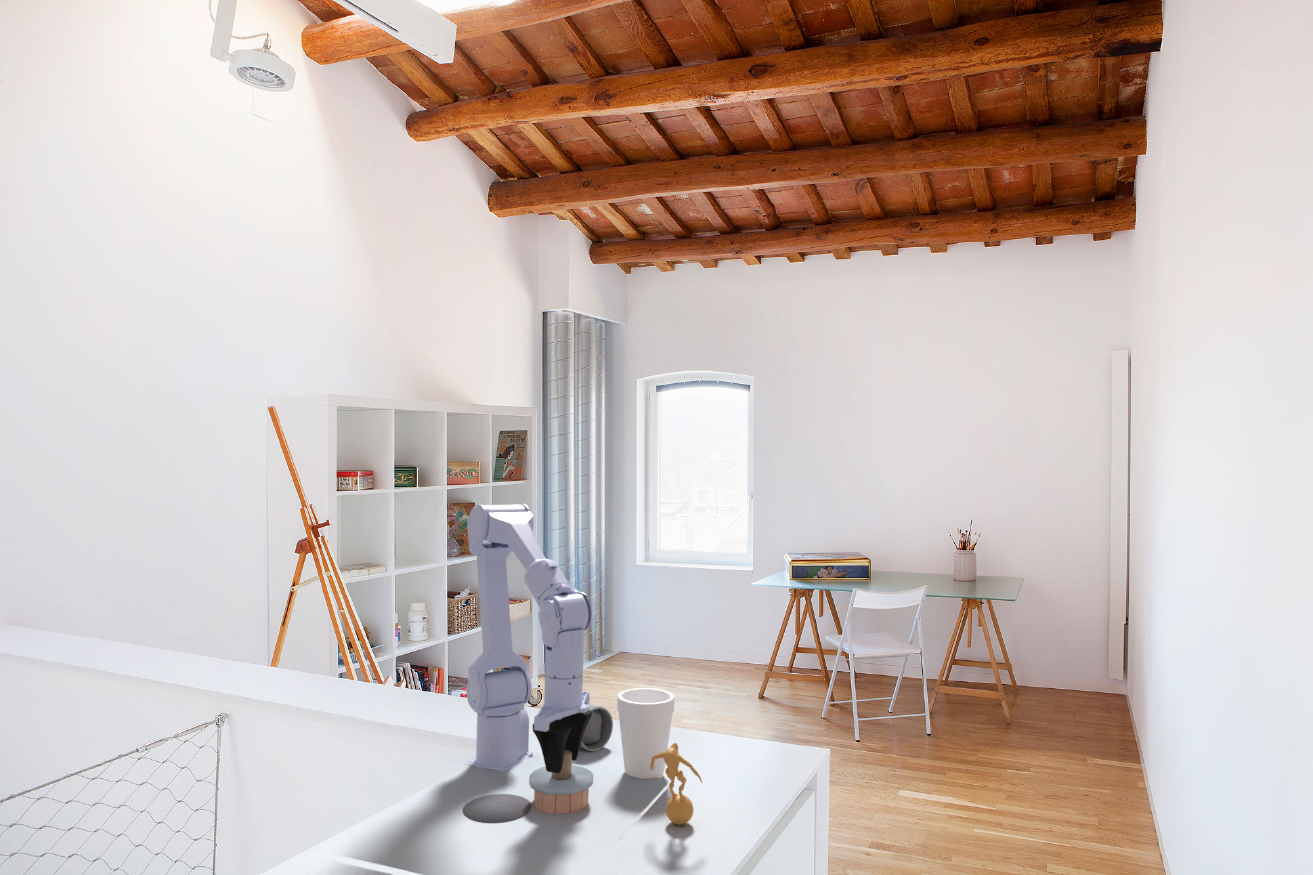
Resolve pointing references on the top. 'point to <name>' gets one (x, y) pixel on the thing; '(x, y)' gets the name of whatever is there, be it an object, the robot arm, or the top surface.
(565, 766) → the lid
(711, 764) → the top surface
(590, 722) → the ceramic mug
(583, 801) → the bowl
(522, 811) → the mat
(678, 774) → the figurine
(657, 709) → the foam cup
